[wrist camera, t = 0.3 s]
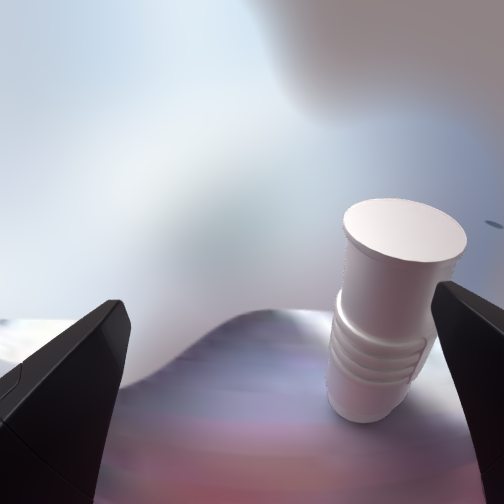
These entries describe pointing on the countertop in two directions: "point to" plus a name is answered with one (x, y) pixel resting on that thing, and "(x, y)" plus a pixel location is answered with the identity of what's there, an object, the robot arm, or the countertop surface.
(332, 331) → the white cylinder
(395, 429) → the countertop surface
